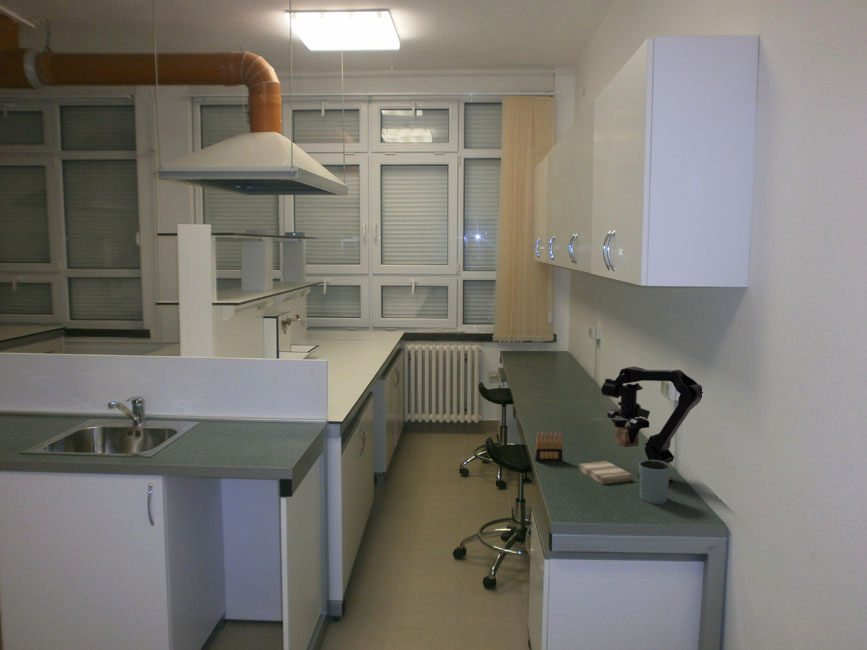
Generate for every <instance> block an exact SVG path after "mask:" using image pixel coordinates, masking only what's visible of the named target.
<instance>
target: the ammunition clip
mask: <svg viewBox="0 0 867 650" xmlns="http://www.w3.org/2000/svg"><path fill="white" fill-rule="evenodd" d="M535 438H536V440H535V451H534V452H535V454H534V461H535V462H541V463H542V462H544V463H546V462H549V463H550V462H563V434H562V431H561V430H559V434H558V432H557V431H554V435H553V431H550V433H549V432H548V431H546V432H545V434H544V430H541V434H540V430H539V431H538V430H537V433H536V437H535Z"/></svg>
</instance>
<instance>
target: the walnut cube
mask: <svg viewBox="0 0 867 650" xmlns="http://www.w3.org/2000/svg"><path fill="white" fill-rule="evenodd" d="M614 437H615V438H614V440H615V442H614V443H615V444H617V445H619V446H621V447H623V448H631V447H639V440H640V439H639V437H640V431H639V432H638V434H637V436H636V438H635V441H634V443H630V439H629V435H628V430H627V426H625V427H615V436H614Z"/></svg>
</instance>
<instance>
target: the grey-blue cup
mask: <svg viewBox="0 0 867 650" xmlns="http://www.w3.org/2000/svg"><path fill="white" fill-rule="evenodd" d="M671 468H672V467H671V464H670V463H669V464H668V463H666V462H663V461H658V460H648V459H643V460H640V461H639V462H638V471H639V475H638V476H639V498H640V500H641V501H643V502H645V503H649V504H655V505H656V504H658V505H659V504H665V503H667V501H668V500H667V499H668V489H669V482H670V481H669V478H671V477H670V476H671Z"/></svg>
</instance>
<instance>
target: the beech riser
mask: <svg viewBox="0 0 867 650" xmlns="http://www.w3.org/2000/svg"><path fill="white" fill-rule="evenodd" d="M578 471H579V472H581V473H583V474H584V475H586V476H587V475H588V477H589V478H591V479H592V480H595V481H596V482H598V483H599V482H600V483H599V484H602V485H606V484H615V482H616V483H623V482H630V481H632V473H631V472H628V471H627V470H624V469H623V468H621V467H619V466H616V465H615V464H613V463H611V462H610V461H607V460H603V461H593V462H583V463H578Z"/></svg>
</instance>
